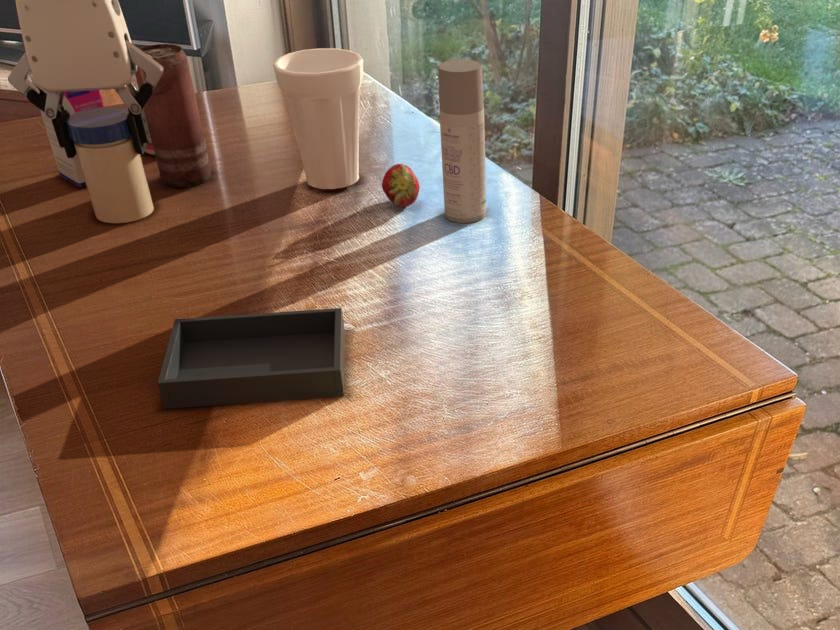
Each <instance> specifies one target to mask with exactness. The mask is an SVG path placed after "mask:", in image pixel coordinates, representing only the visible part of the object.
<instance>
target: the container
mask: <svg viewBox="0 0 840 630" xmlns="http://www.w3.org/2000/svg"><path fill="white" fill-rule="evenodd" d="M437 69H438V99H439V101H438V102H439V103H438V105H439V129H440V149H441V150H440V151H441V163H442V164H441V167H442V184H443V185H442V186H443V187H442V188H443V204H444V205H443V206H444V217H445V219H447V220H448V221H450V222H453V223H457V224H471V223H475V222H476V223H477V222H479V221H481V220H483V219H484V218H485V217H487V184H486V183H487V181H486V180H487V179H486V177H487V176H486V175H487V174H486V137H485V135H486V133H485V129H486V128H485V127H486V126H485V103H484V102H485V101H484V82H483V81H484V80H483V63H481V62H480V61H478V60H474V59H467V58H456V59H449V60H445V61H442V62H441V63H440V64H439V65H438V68H437Z"/></svg>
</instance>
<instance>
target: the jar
mask: <svg viewBox="0 0 840 630" xmlns="http://www.w3.org/2000/svg"><path fill="white" fill-rule="evenodd" d="M74 147H75V150H76V153H77V156H78V160H79V163H80V166H81V170H82V173H83V176H84V180H85V183H86V186H85V187H86V190H87V193H88V196H89V199H90V202H91V206H92V209H93V212H94V216H95V218H96V220H98V221H99V222H102V223H107V224H127V223H132V222H133V223H134V222H136V221H139V220H142V219H144V218H146V217H148V216H150V215H151V214H152V213H153V212H154V209H155V207H154V202H153V198H152V195H151V191H150V187H149V183H148V179H147V175H146V171H145V168H144V164H143V163H144V162H143V160H142V159H143V158H142V156H141V154H138V153H136V151H135V147H134V143H133V140H132V136H129V137H128V138H125V139H123V140H120V141H116V142H112V143H106V144H96V145H88V144H80V143H76V142H74Z"/></svg>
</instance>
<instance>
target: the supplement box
mask: <svg viewBox="0 0 840 630" xmlns="http://www.w3.org/2000/svg"><path fill="white" fill-rule="evenodd" d="M29 78H30V81H31V82H32V84H33V85H34V86H37V87H39V86H38V85H37V83H36V81H35V79H34V77H33V74H32V73H30V74H29ZM39 88H40V87H39ZM40 89H41V90H43V91H44V92H45V93H46V94H47V91H46V90H44V89H42V88H40ZM62 106H63V107H64V110H67V112H69V114H70V116H71V115H73V114H75V113H77V112H80V111H84V110H88V109H93V108H102V107H105V104H104V101H103V96H102V93H101V90H90V91H70V92H64V98H63V104H62ZM39 111H40V114H41V117H42V120H43V124H44V127H45V131H46V135H47V139H48V141H49V145H50V148H51V151H52V155H53V157H54V158H53V159H54V161H55V164H56V169H57V171H58V173H59V176H60V177H61V178H63V179H65V180H67V181H68V182H70V183H71V184H72V185H74V186H76V187H78V188H84V187H87V186H86V183H85V180H84V176H83V173H82V170H81V166H80V163H79V160H78V156H77V153H76V155H75V157H73V158H67V155H66V152H65V149H64V148H61V147H60V146H59V143H58V140H57V136H56V133H55V130H54V127H53V124H52V120H51V119H49V118H48V117H46V115H45V113H44V112H43V111H42V110H40V109H39Z"/></svg>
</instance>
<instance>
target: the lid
mask: <svg viewBox="0 0 840 630" xmlns="http://www.w3.org/2000/svg"><path fill="white" fill-rule="evenodd" d="M128 113H129V111H128V109H127V108H122V107H114V106H113V107H112V106H104V107H102V108H93V109H88V110H84V111H80V112H77V113H75V114H73V115H71V116H69V117H68V118H67V119H66V124H67V130H68V134H69V137H70V139H71V140H72V141H74V142H76V143H80V144H88V145H96V144H106V143H112V142H116V141H120V140H123V139H125V138H128V137H129V136H131V132H130V128H129V124H128V121H127V115H128Z"/></svg>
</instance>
